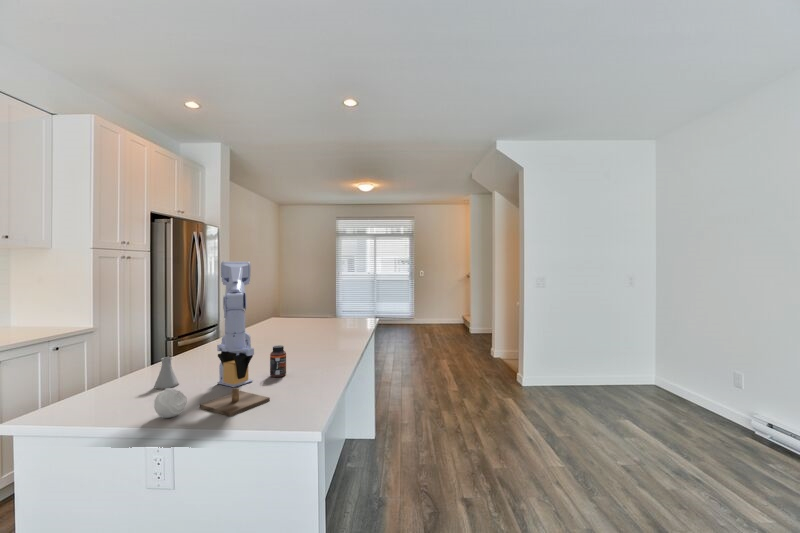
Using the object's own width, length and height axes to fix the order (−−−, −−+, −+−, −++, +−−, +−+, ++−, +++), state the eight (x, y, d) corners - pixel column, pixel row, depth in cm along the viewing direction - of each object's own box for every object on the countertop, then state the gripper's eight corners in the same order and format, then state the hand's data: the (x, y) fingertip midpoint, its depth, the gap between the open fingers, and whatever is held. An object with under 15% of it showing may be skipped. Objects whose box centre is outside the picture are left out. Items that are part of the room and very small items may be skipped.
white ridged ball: (168, 423, 100) (168, 394, 100) (146, 420, 102) (146, 392, 102) (192, 412, 107) (192, 385, 107) (171, 410, 109) (171, 383, 109)
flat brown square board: (199, 407, 111) (199, 392, 111) (240, 393, 123) (239, 380, 123) (230, 416, 104) (230, 400, 104) (269, 400, 116) (269, 386, 116)
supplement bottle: (281, 378, 141) (281, 348, 141) (266, 377, 142) (266, 347, 142) (289, 373, 146) (288, 345, 146) (275, 373, 148) (275, 344, 148)
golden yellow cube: (223, 382, 113) (223, 362, 113) (237, 378, 117) (237, 359, 117) (234, 384, 111) (234, 364, 111) (248, 380, 115) (248, 360, 115)
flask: (149, 388, 130) (149, 359, 130) (169, 382, 136) (169, 355, 136) (163, 390, 127) (163, 361, 127) (183, 384, 134) (183, 356, 134)
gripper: (208, 332, 114) (208, 376, 114) (239, 336, 107) (239, 383, 107) (228, 329, 120) (228, 371, 120) (259, 332, 113) (259, 377, 113)
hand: (235, 376), depth 114 cm, fingers closed on golden yellow cube, 5 cm apart
